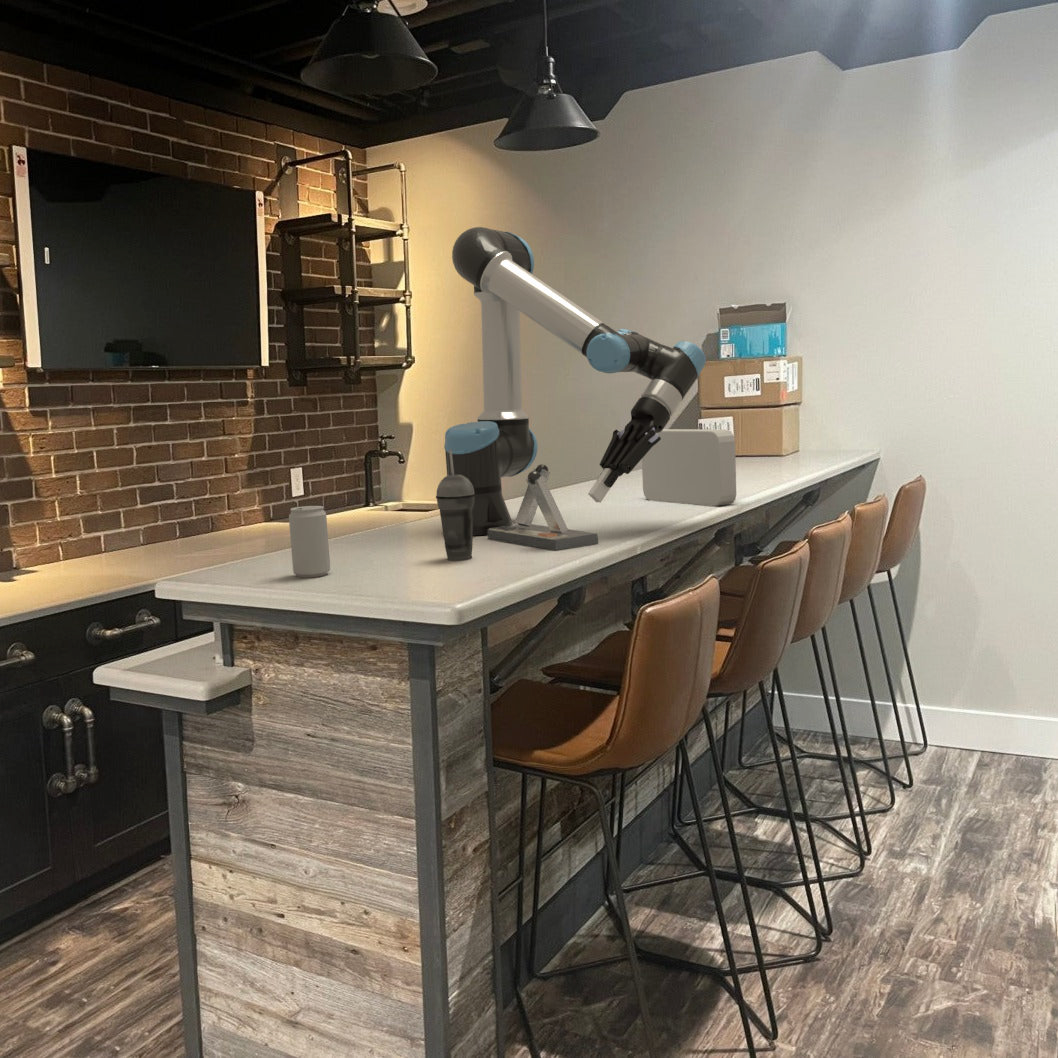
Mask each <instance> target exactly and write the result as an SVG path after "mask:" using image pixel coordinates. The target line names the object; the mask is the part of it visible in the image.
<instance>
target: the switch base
mask: <svg viewBox="0 0 1058 1058" xmlns="http://www.w3.org/2000/svg"><path fill="white" fill-rule="evenodd" d="M487 532H488V534H487V540H492V541H499V542H505V543H509V544H515V545H522V546H527V547H533V548H538V549H546V550H551V551H555V552H556V551H562V550H563V551H564V550H568V549H574V548H579V547H580V548H581V547H586V546H592V545H598V544H599V534H598V533H597V532H591V531H584V530H576V529H568V530H567V531H565V532H564V533H563V534H559V533H552V532H551V531H550V528H549V526H548V525H540V524H534V523H531V526H530V527H528V526H521V525H518V524H516V525H515V524H514V525H512V526H502V527H495V528H489V529H487Z"/></svg>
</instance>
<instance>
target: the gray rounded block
mask: <svg viewBox="0 0 1058 1058" xmlns="http://www.w3.org/2000/svg"><path fill="white" fill-rule="evenodd" d="M657 434H658V435H659V437H660V438H661V440H660V441H659V442H658V443H656V444H655V445H654V446H653V447H652V448H651V449H650V450H649V451H648V452H647V453H646V455H645V456H644V457H643V458H642V459H641V467H642V468H641V470H642V471H641V472H642V473H641V474H642V492H643V496H644V497H645V498H646V500H649V501H651V500H652V501H651V502H663V503H673V504H683V505H692V506H693V505H694V506H695V505H696V506H704V507H705V506H706V507H719V506H727V505H732V504H734V503H735V501H736V499H737V498H736V497H737V467H736V466H737V465H736V464H737V463H736V460H737V459H736V439H735V435H734V433H733V432H732V431H731V430H729V429H710V428H709V429H704V428H703V429H702V428H701V429H695V428H694V429H691V428H689V429H688V428H687V429H686V428H683V429H681V428H680V429H679V428H678V429H677V428H675V429H672V428H671V429H670V428H669V429H668V428H664V429H663V430H662V431H661V432H659V433H657ZM648 442H649V441H648Z"/></svg>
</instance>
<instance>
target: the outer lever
mask: <svg viewBox="0 0 1058 1058" xmlns="http://www.w3.org/2000/svg"><path fill="white" fill-rule="evenodd" d="M525 480H526V483H527V484H528V485H529V487H530V489H531V491H532V493H533V495H534V497H535V499H536V501H537V503H538V507H539V509H540V510H539V511H540V512H541V514H542V516H543V518H544V520H545V522H546V524H547V526H548V527H549V528H550V531H551V532H552V533H559V534H563V533H564V532H565V531H567V530H568V527H567V524H566V522H565V520H564V517H563V515H562V513H561V511H560V510H559V507H558V505H557V503H556V500H555V498H554V496H553V494H552V492H551V490H550V488H549V486H548V484H547V482H546V481H545V479H544V477H543V476H541V474H540V473H539V472H537V471H534V470H532V471H530V472H529V473H528V474H527V478H526V479H525ZM528 485H527V486H528Z"/></svg>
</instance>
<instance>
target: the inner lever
mask: <svg viewBox="0 0 1058 1058" xmlns="http://www.w3.org/2000/svg"><path fill="white" fill-rule="evenodd" d="M533 471H537V472H539V473H540V474H541V476H543V477H544V479H545V481H546V483H547V482H548V480H549V477H550V473H551V472H549V467H548V466H547V464H543V463H542V464H539V465H537V467H536V468H533ZM538 507H539V505H538V503H537V501H536V499H535V497H534V495H533V493H532V491H531V489H530V487H529V485H527V488H526V491H525V492H524V495H523V499H522V501H521V503H520V506H519V509H518V512H517V515H516V518H515V521H514V524H516V525H521V526H528V527H530V526H531V524H533V520H534V519H535V516H536V515H535V514H536V512H537V510H538Z"/></svg>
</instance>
